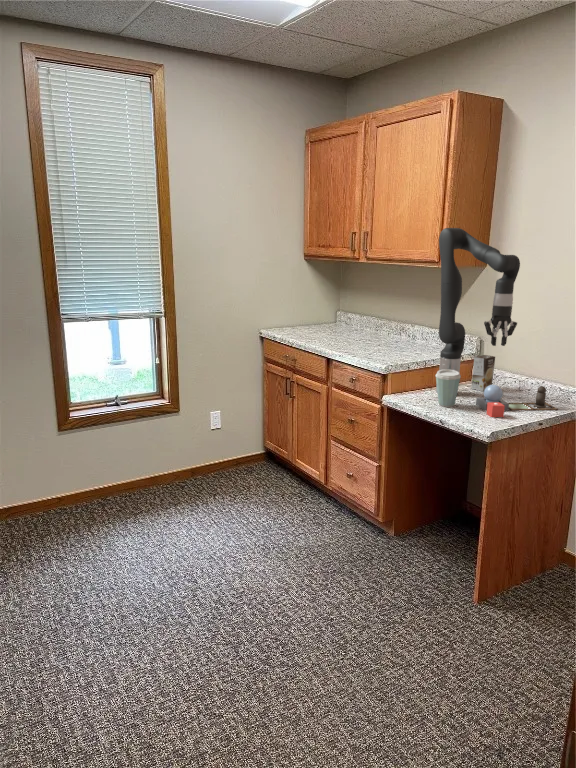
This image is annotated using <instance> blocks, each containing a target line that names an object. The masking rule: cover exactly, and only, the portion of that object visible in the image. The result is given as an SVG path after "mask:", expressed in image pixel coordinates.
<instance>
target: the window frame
mask: <svg viewBox="0 0 576 768" xmlns="http://www.w3.org/2000/svg"><path fill="white" fill-rule="evenodd" d="M507 403H508V404H509V408H508V411H511V412H512V410H525V411H558V410H559V409H558V407H555V406H554V405H551V404H549V403H548V402H546V401H545V405H546V408H535V407H532V406H530V405H534V404H535V403H536V402H507ZM523 404H524V405H523ZM525 405H526V406H525ZM527 406H528V407H530V408H531V409H528V407H527ZM547 407H548V408H547Z"/></svg>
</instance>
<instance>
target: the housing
mask: <svg viewBox="0 0 576 768" xmlns="http://www.w3.org/2000/svg"><path fill="white" fill-rule="evenodd" d="M499 402H500V403H501V404H503V405H504V406H505V408H504V412H505V411H509V409H508V408H509V404H508V403H509V402H507V401H506V400H504V399H502V398H501V399H500V400H499ZM487 403H488V402H487V401H486V398H485V397H476V399H475V405H476V406H478V407H479V408H480V407H481V409H482V410H484V411H485V412H487Z"/></svg>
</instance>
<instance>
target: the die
mask: <svg viewBox="0 0 576 768" xmlns="http://www.w3.org/2000/svg"><path fill="white" fill-rule="evenodd" d="M504 408H505V406H504V405H503V404H501V403H500V402H488V403H487V411H486V415H487V416H488V417H490V418H491V417H495V418H496V417H503V418H504V415H505V411H504ZM495 418H494V419H495ZM496 419H497V418H496Z"/></svg>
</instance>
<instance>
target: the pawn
mask: <svg viewBox="0 0 576 768" xmlns="http://www.w3.org/2000/svg"><path fill="white" fill-rule="evenodd" d="M546 395H547V387H545V386H542V385H541V386H538V388H537V392H536V398H535V402H534V403H535V404H533V406H534V407H533V408H535V407H537V408H547V405H545V402H546V397H547V396H546ZM537 408H536V409H537Z"/></svg>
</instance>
